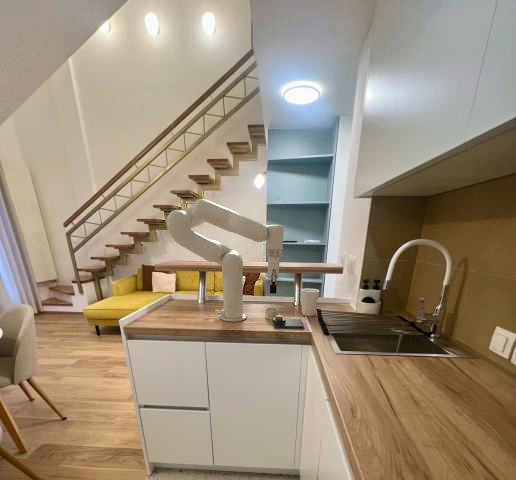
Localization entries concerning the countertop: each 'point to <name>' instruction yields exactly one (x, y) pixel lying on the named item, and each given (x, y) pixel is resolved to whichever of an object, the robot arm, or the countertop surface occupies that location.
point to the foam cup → (309, 300)
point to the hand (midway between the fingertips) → (272, 292)
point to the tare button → (279, 317)
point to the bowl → (271, 313)
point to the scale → (288, 323)
